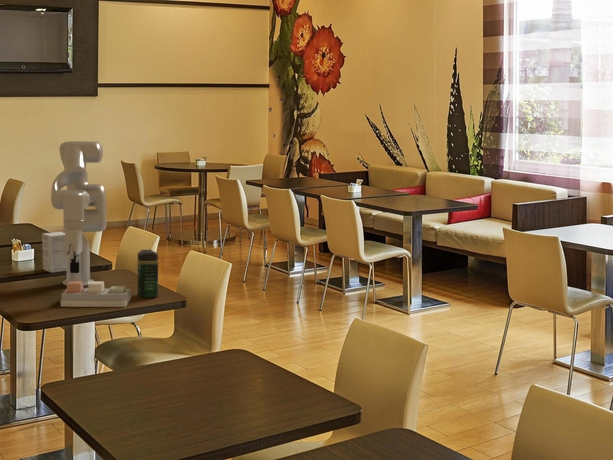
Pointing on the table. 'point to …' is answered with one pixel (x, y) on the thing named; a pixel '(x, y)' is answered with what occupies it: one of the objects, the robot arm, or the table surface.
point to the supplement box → (54, 252)
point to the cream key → (96, 287)
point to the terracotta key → (74, 286)
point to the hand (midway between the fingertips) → (74, 272)
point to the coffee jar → (147, 274)
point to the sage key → (117, 289)
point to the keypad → (96, 299)
